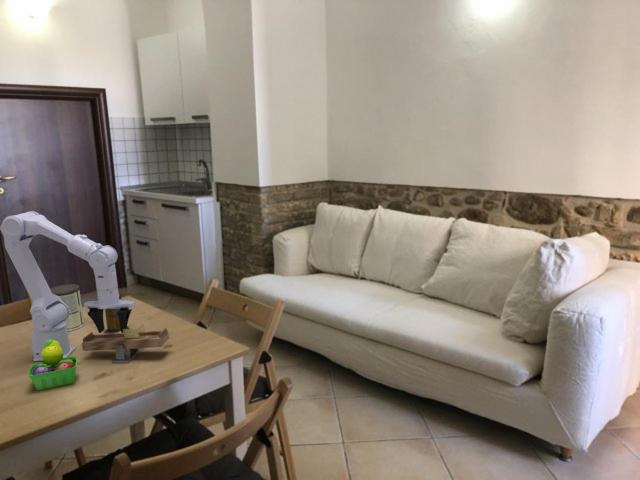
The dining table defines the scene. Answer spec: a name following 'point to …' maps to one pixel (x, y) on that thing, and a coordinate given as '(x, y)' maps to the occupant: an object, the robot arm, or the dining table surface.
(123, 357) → the pivot stand
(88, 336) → the balance beam
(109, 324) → the condiment
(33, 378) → the fruit basket
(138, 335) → the wooden cube block
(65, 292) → the coffee can
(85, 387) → the dining table surface
